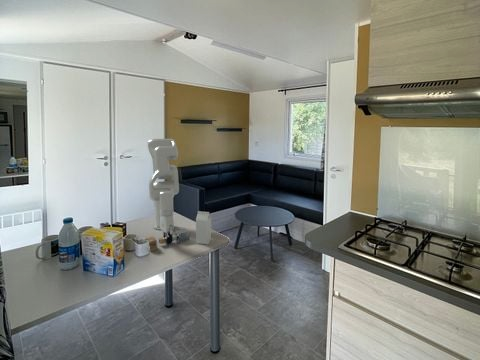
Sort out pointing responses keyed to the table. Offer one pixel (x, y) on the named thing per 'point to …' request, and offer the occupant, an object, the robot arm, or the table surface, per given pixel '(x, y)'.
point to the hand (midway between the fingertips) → (168, 241)
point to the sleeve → (182, 235)
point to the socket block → (152, 243)
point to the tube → (164, 240)
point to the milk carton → (203, 227)
